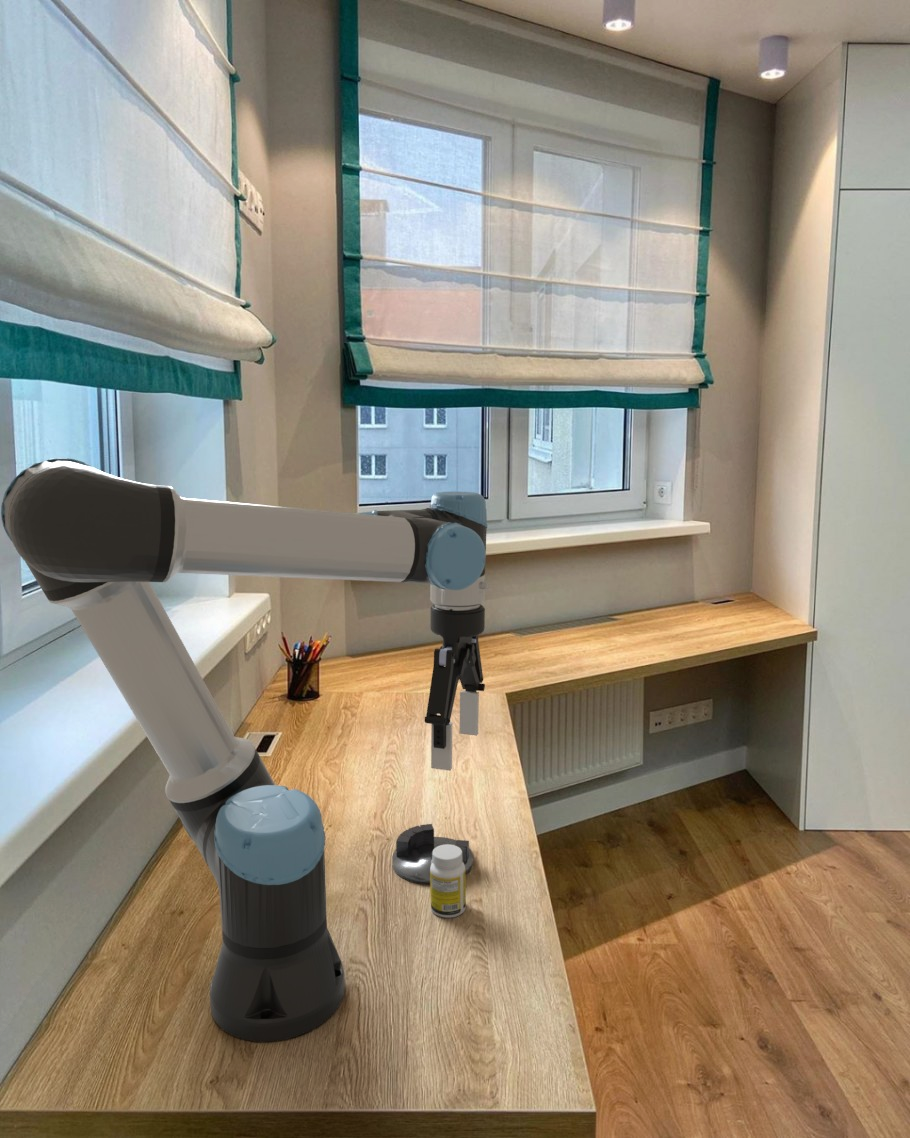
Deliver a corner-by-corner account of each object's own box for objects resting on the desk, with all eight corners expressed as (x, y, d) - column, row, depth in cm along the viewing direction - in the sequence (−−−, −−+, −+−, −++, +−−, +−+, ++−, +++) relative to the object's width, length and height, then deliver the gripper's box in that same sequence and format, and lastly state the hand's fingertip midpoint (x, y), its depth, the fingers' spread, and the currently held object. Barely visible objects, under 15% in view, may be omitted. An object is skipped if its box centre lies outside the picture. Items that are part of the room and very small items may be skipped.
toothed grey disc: (432, 894, 120) (432, 871, 120) (375, 863, 129) (375, 842, 128) (489, 861, 129) (489, 839, 128) (433, 834, 137) (432, 814, 136)
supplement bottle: (446, 895, 120) (445, 839, 119) (473, 907, 117) (472, 849, 116) (423, 910, 117) (422, 852, 115) (450, 923, 114) (449, 864, 112)
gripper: (458, 626, 107) (456, 789, 110) (505, 589, 130) (502, 724, 134) (401, 622, 109) (400, 781, 113) (457, 586, 132) (455, 718, 136)
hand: (455, 750), depth 123 cm, fingers open, 13 cm apart
